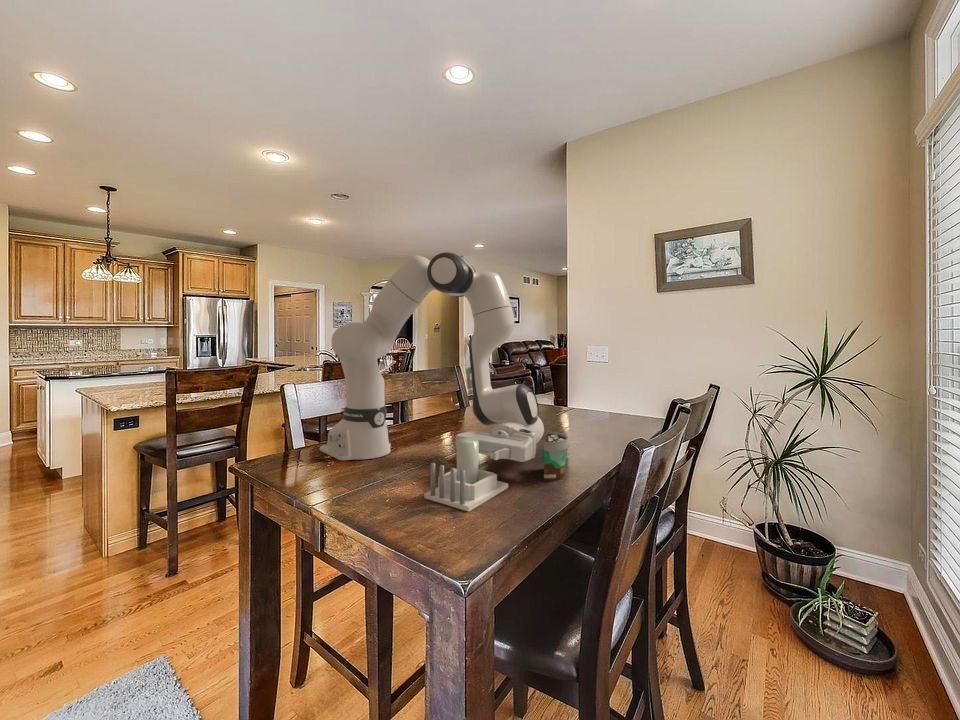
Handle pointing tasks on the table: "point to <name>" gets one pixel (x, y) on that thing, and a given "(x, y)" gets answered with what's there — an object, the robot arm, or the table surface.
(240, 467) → the table surface
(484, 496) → the dish rack
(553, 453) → the food container
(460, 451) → the pale green canister
